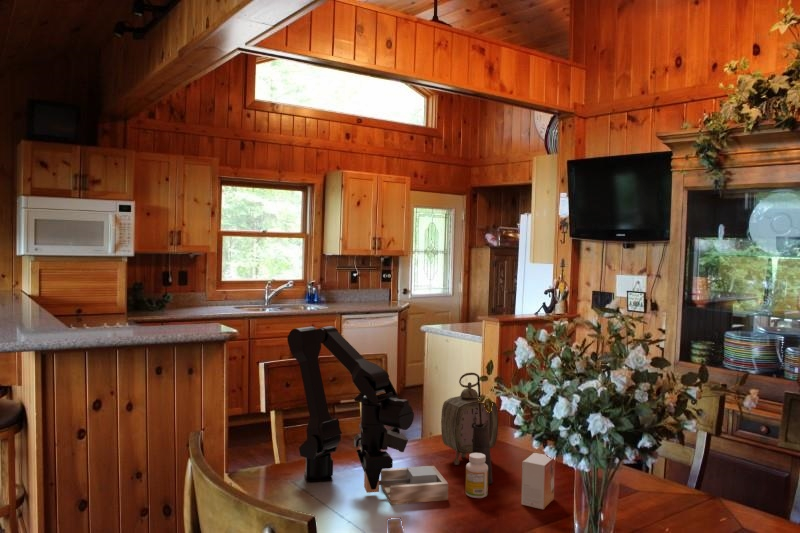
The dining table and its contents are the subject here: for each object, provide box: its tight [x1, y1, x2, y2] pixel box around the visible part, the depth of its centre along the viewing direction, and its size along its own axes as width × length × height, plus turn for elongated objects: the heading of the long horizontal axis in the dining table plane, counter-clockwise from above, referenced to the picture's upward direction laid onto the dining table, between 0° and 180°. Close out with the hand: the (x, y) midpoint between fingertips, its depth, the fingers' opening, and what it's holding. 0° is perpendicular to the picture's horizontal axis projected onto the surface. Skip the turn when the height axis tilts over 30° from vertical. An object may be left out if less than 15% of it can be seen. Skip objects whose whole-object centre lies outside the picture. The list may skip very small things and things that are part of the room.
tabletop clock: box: [440, 372, 499, 466], centre depth 180 cm, size 14×9×25 cm, turn 118°
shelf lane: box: [380, 465, 449, 505], centre depth 156 cm, size 14×12×4 cm
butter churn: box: [472, 374, 493, 486], centre depth 164 cm, size 9×10×28 cm
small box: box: [520, 452, 556, 510], centre depth 152 cm, size 8×6×10 cm
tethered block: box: [363, 465, 437, 494], centre depth 155 cm, size 17×6×4 cm, turn 103°
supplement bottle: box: [465, 453, 489, 499], centre depth 155 cm, size 5×5×10 cm
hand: (371, 485), depth 153 cm, fingers open, 5 cm apart
